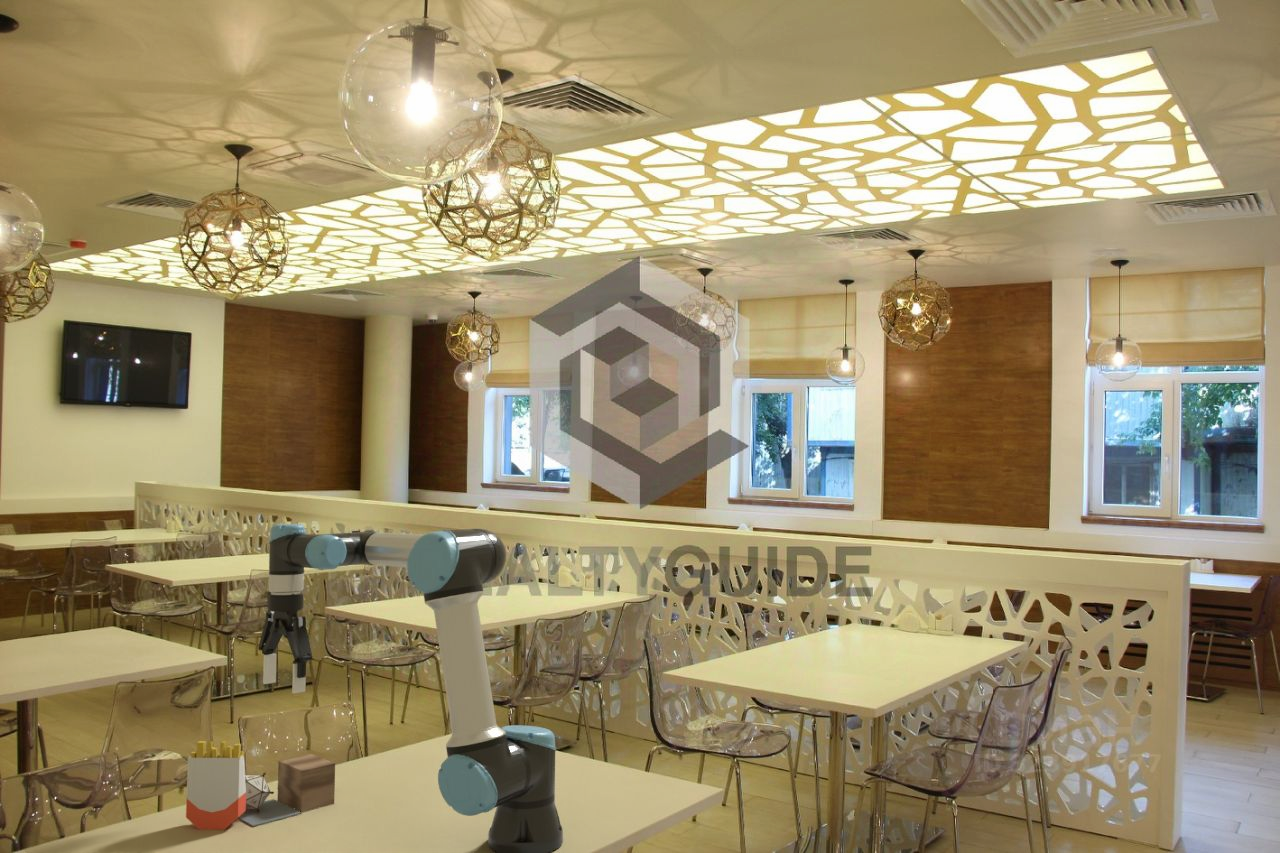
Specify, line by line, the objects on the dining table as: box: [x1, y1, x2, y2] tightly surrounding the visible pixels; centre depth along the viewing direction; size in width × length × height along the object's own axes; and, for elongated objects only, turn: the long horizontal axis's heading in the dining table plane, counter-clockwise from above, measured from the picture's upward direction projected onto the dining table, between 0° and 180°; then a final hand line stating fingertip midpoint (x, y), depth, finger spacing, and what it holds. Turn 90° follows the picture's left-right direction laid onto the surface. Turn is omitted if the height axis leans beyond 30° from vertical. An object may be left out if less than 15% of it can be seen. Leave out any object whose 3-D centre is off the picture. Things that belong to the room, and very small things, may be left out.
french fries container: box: [185, 740, 246, 830], centre depth 207 cm, size 5×11×18 cm, turn 91°
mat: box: [237, 798, 303, 828], centre depth 214 cm, size 13×11×1 cm
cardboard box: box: [277, 753, 336, 813], centre depth 222 cm, size 11×8×9 cm
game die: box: [245, 771, 275, 813], centre depth 215 cm, size 9×8×10 cm
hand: (283, 687), depth 218 cm, fingers open, 13 cm apart
